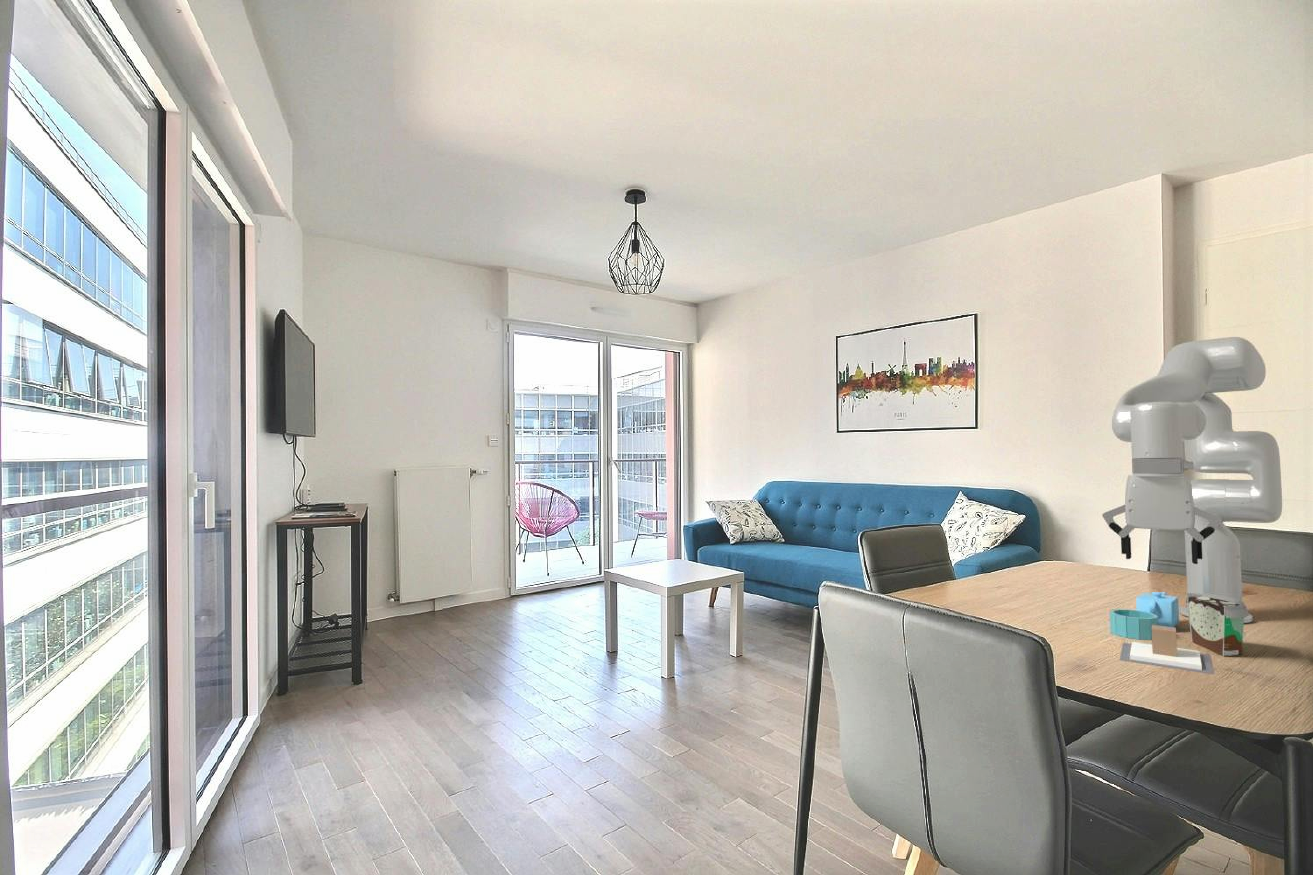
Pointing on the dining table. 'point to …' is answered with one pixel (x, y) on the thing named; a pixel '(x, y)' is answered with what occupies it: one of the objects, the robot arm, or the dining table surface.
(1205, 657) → the mat
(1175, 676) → the dining table surface
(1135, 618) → the bowl
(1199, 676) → the dining table surface
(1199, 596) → the food container
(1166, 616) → the teapot
